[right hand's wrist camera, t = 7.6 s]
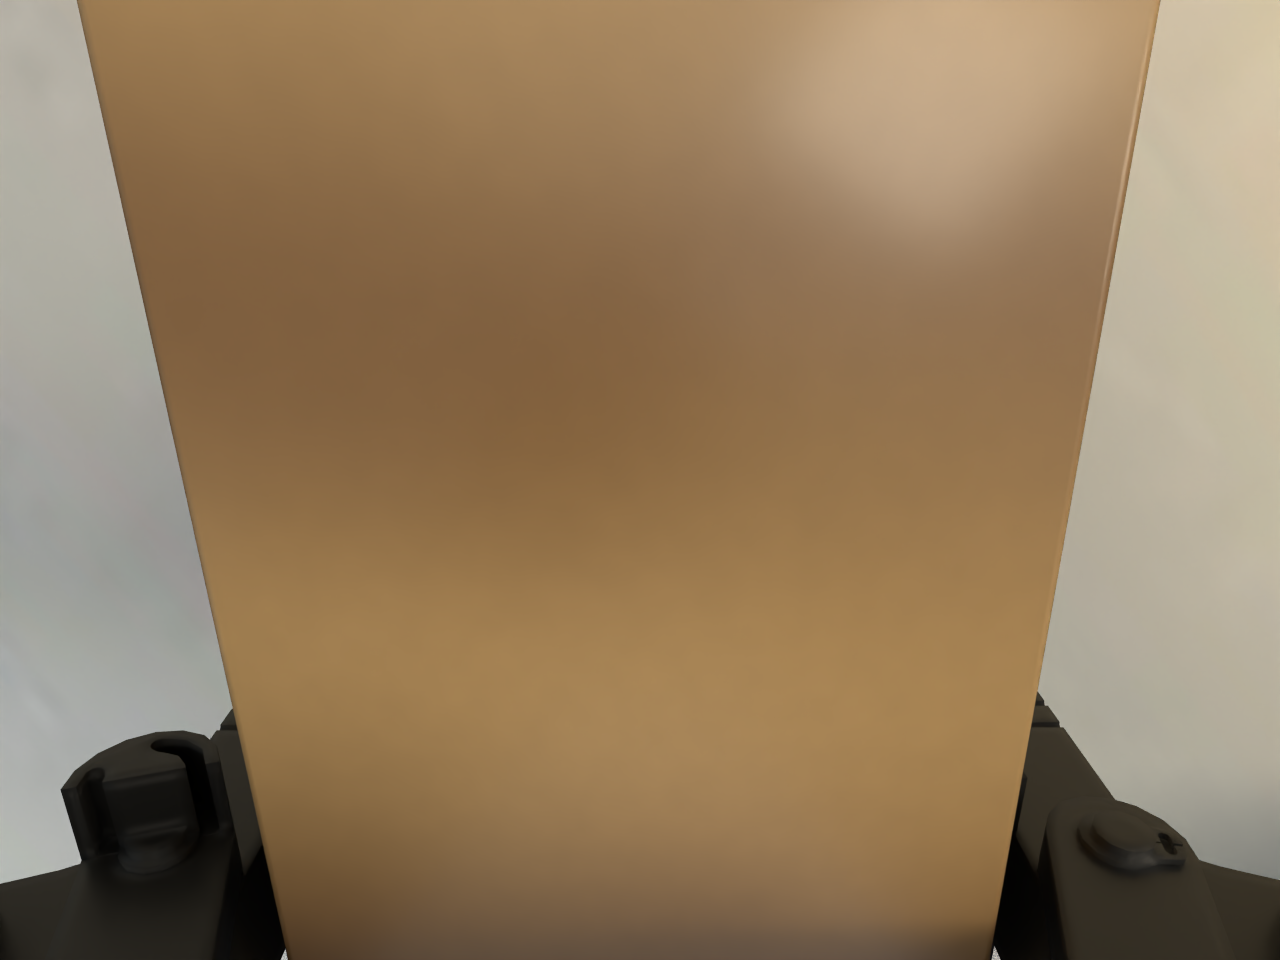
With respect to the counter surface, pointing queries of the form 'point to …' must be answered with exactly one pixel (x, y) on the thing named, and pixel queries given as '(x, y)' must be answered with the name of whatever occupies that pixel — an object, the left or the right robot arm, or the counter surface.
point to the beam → (628, 445)
